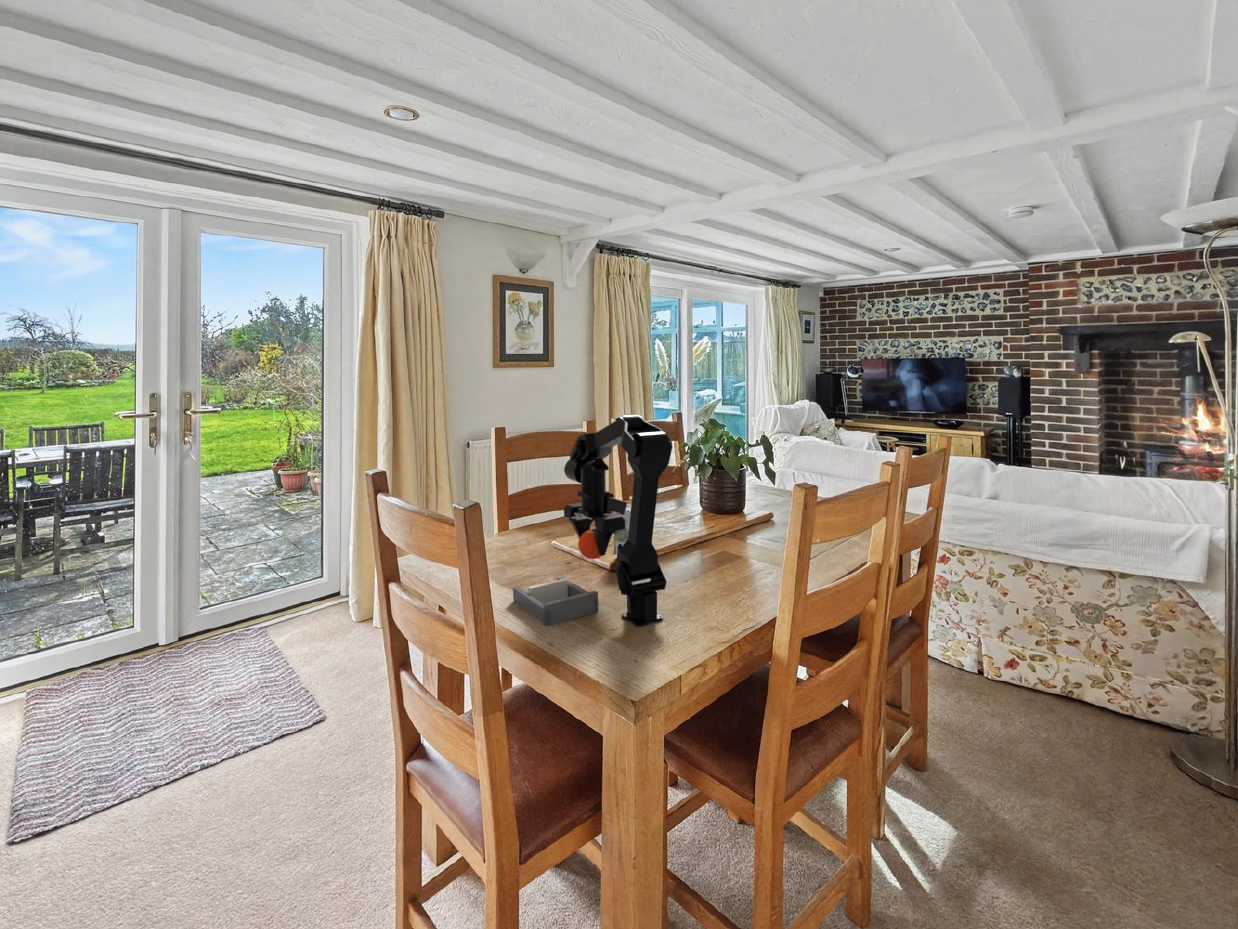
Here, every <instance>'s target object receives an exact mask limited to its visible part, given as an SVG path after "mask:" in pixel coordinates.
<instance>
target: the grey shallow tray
mask: <svg viewBox="0 0 1238 929" xmlns="http://www.w3.org/2000/svg"><path fill="white" fill-rule="evenodd" d="M556 579H557V580H561V579H566V580H567V585H568V597H566V598H562V599H558V600H554V601H550V602H545V603H541V602H540V601H538V600H537V599H536V598H534V597H533V596H531V595H530V594H528V591H525V590H524V589H523V588H521V587H520V586H518V585H517V586H513V587H512V594H513V595H512V596H513V598H512V599H513V600H514V601H515V602H514V601H513V602H514V603H516V604H517V603H518V604H519V607H521V608H522V609H523V610H525V611H526V612H528V613H529V614H530V613H531V614H530V615H532V614H533V615H534V616H535V617H534V616H533V615H532V616H533V617H534V618H535V619H537V620H538V619H539V620H538V621H539V622H541V623H542V624H544V625H545V626H546V627H547V626H550V625H551V626H552V625H554V624H557V623H558V622H559V623H561V622H565V621H569V620H573V619H577V618H580V617H584V616H588V615H592V614H595V613H598V612H599V592H598V591H596V590H592V591H587V590H586V589H584V588H582V587H581V586H579V585H578V584H576V583H574V582H572V581H570V580H569V579H567V578H565V577H564V576H558V577H557V578H556ZM557 580H556V581H557ZM518 604H517V605H518Z"/></svg>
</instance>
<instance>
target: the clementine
mask: <svg viewBox="0 0 1238 929" xmlns="http://www.w3.org/2000/svg"><path fill="white" fill-rule="evenodd" d="M593 529H594V528H592V529H590V530H588V531H586V532H585V533H583V534H582V535H581V537H580V539H579V538H578V539H579V540H578V543H577V545H578V546H577V547H578V550H579V552H580V554H581V555H582V556H583V557H584V558H586V559H589V560H596V559H599V558H601V557H602V556H600V554H599V551H598V547H597V544H596V540H595V537H594V534H593ZM610 541H611V540H610ZM610 541H609V543H610Z"/></svg>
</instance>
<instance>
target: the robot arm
mask: <svg viewBox="0 0 1238 929" xmlns="http://www.w3.org/2000/svg"><path fill="white" fill-rule="evenodd" d="M617 445H620V446H621V448H622V449H623V450H624V451H625V453H626V454H627V463H628V465H629V467H630V468H631V470H632V472H633V474H634V475H633V483H632V484H633V485H632V495H631V496H632V497H631V504H630V505H631V514H630V525H629V535H628V540H627V541H626V542H625V543H620V544H619V545H618V548H617V558H616V559H615V561H616V565H615V574H616V579H617V585H618V586H617V587H618V589H619V590H618V591H620V595H622V596H626V612H622V613H621V617H622V618H623V619H625V620H627V621H629V622H630V623H632V624H634V625H636V626H638V627H640V626H644V625H648V624H651V623H655V622H658V621H661V620H663V619H664V616H663V615H661V614H660V613H658V591H663V590H666V586H667V579H666V577H665V575H664V572H663V570H662V568H661V566H660V563H659V553H658V551H657V550H656V548H655V546H654V545H653V534H654V526H655V518H656V508H657V499H658V490H659V481H660V480H659V479H660V477H662V475H663V473H664V472H665V471H666V469H667V467H668V466H669V464H670V460H671V456H672V452H673V441H672V439H671V438H670V437H669V435H668V434H667V433H666V432H665V431H664V430H663V429H662V428H660V427H658V426H657V425H654V424H653V423H650V422H649V421H646V420H645V419H644V417H642V416H641V415H638V414H634V415H633V414H631V415H630V414H629V415H621V416H620V417H616V420H615V421H613V422H612V423H611V422H610V424H608V425H606V426H605V427H603V428H601V429H599V430H598V431H596V432H589V433H583V434H579V435H578V436H577V437H576V440H575V442H574V445H573V448H572V450H571V452H570V454H569V459H568V460H567V461H566V462H565V465H564V468H563V470H564V475H565V476H566V478H568V479H569V480H571V481H574V482H577V483H579V484H580V490H579V491H577V496H578V497H580V498H581V499H580V501H581V502H576V503H575V502H574V503H569V504H566V505H565V507H564V508H563V516H564V517H565V518H568V521H569V522H570V524H571V525H572V527H573V529H574V531H575V534H576V535H577V537H578V539H580V537H581V535H582V534H583V533H585V532H586V531H588V530H591V525H592V523H593V522H594V527H595V528H592V529H593V534H594V537H595V540H596V544H597V547H598V551H599V554H600V556H601V557H604V556H605V555H606V553H607V550H608V547H609V544H610V542H609V541H611V539H612V536H614V532H615V531H618V530H621V529H625V528H626V520H625V519H624V518H623V517H622V516H619V515H616V514H614V513H612V512H613V511H614V512H617V513H620V514H622V515H624V513H625V510H626V506H627V504H628V501H625V500H621V499H618V498H615V497H614V496H615V495H614V493H611V492H610V491H608V490H606V471H609V469H610V468H609V466H608V464H607V463H606V462H605V461H604V459H605V458H607V457H608V456H610V454H611V453H612V452H613V447H615V446H617ZM648 579H649V580H648ZM644 580H646V581H644ZM640 581H641V582H640ZM635 582H637V583H635Z"/></svg>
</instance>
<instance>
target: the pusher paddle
mask: <svg viewBox="0 0 1238 929" xmlns="http://www.w3.org/2000/svg"><path fill="white" fill-rule="evenodd" d="M566 579H567V578H565V579H561V580H553V581H549V582H544V583H540V584H539V583H538V584H535V585H530V586H527V593H528V594H530V595H531V596H533V597H534V598H536V599H537V600H538V601H540V602H541V603H547V602H551V601H555V600H559V599H563V598H567V597H568V585H567V580H568V579H567V580H566Z"/></svg>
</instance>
